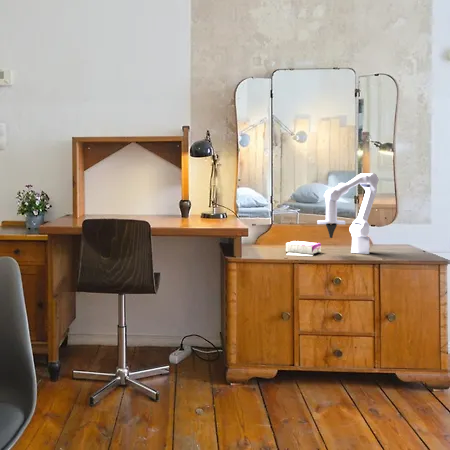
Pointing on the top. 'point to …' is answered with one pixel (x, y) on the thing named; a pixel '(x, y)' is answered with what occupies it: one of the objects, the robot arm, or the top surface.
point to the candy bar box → (303, 247)
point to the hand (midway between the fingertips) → (330, 237)
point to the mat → (298, 254)
